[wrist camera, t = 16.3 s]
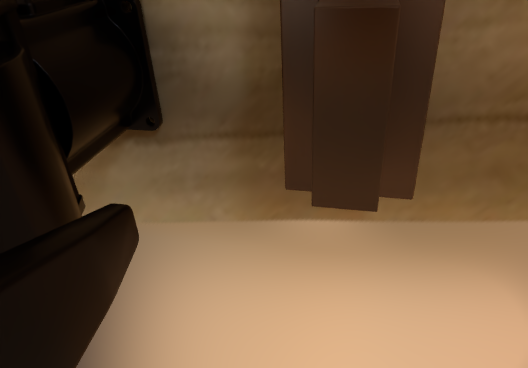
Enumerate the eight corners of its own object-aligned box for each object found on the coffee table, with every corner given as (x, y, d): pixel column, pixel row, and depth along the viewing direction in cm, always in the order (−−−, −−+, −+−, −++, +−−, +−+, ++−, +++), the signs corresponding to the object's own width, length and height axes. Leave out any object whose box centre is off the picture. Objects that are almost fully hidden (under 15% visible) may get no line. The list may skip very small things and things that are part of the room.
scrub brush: (409, 169, 20) (418, 245, 15) (294, 161, 21) (271, 229, 17) (443, -60, 15) (473, -52, 10) (291, -53, 16) (257, -42, 12)
